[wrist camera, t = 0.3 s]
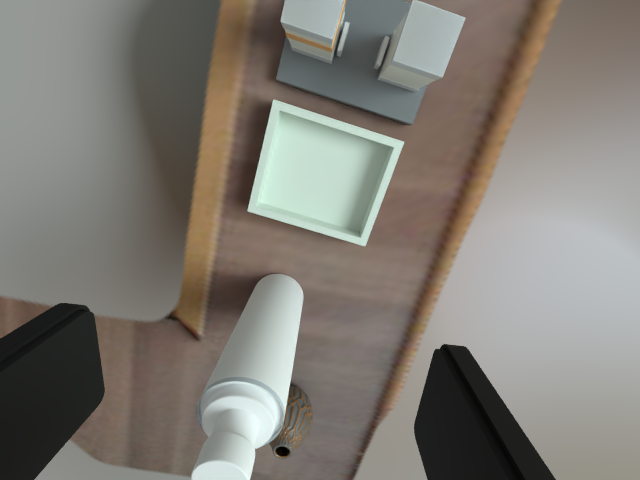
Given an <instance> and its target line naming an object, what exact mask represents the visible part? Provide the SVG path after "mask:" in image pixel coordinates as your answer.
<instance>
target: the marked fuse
mask: <svg viewBox="0 0 640 480" xmlns="http://www.w3.org/2000/svg"><path fill="white" fill-rule="evenodd" d="M345 4H346V0H285V3H284V8H283V12H282V17H281V21H280V22H281V24H282V26H283V28H284V29H285V34H286V36H287V38H288V39H289V42H290V44H291V49H292V51H295V52H297V53H300V54H303V55H306V56H309V57H312V58H315V59H318V60H321V61H324V62H327V63H330V64H332V60H333V57H334V53H335V50H336V46H337V42H338V39H339V35H340V32H341V28H342V24H343V21H344V16H345V12H344V11H345Z"/></svg>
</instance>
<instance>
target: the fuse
mask: <svg viewBox="0 0 640 480" xmlns="http://www.w3.org/2000/svg"><path fill="white" fill-rule="evenodd" d="M464 20H465V18H464V17H462V16H459V15H456V14H453V13H450V12H448V11H445V10H442V9H439V8H437V7H434V6H431V5H428V4H426V3H423V2H420V1H417V0H413V1H412V3H411V4H410V6H409V8H408V11H407V12H406V14H405V15H404V17H403V19H402V20H401V22H400V24H399V25H398V27H397V28H396V30H394V32H393V34H392V36H391V39H390V42H389V45H388V48H387V51H386V54H385V57H384V60H383V63H382V66H381V70H380V73H379V76H378V79H377V80H380V81H383V82H386V83H389V84H392V85H395V86H398V87H401V88H404V89H407V90H410V91H413V92H416V91H418V90H419V89H420V88H422V87H424V86H426V85H427V84H429V83H431V82H433V81H435V80H438V79H440V78H442V77H443V75H444V72H445V69H446V67H447V64H448V62H449V59H450V56H451V54H452V51H453V49H454V46H455V44H456V41H457V38H458V36H459V33H460V31H461V28H462V25H463V23H464Z"/></svg>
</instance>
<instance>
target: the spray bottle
mask: <svg viewBox="0 0 640 480" xmlns="http://www.w3.org/2000/svg"><path fill="white" fill-rule="evenodd" d="M302 304H303V292H302V289H301V287H300V285H299V284H298V283H297V282H296V281H295V280H294V279H293V278H291V277H289V276H287V275H284V274H270V275H267V276H265V277H263V278H262V279H261V280H260V281H259V282H258V283H257V284H256V286H255V288H254V290H253V292H252V294H251V296H250V298H249V300H248V302H247V304H246V306H245V308H244V310H243V312H242V314H241V316H240V318H239V320H238V322H237V324H236V326H235V328H234V330H233V332H232V334H231V336H230V338H229V341H228V343H227V345H226V347H225V349H224V351H223V353H222V355H221V357H220V359H219V361H218V363H217V365H216V367H215V369H214V371H213V373H212V375H211V377H210V379H209V381H208V383H207V385H206V387H205V390H204V392H203V394H202V396H201V399H200V400H199V402H200V411H199V402H198V405H197V418H198V421H199V423H200V425H201V427H202V428H203V430H204V431H205V433H206V434H207V436H208V437H209V438H208V439H207V440H206V441H205V443H204V445H203V447H202V449H201V452H200V454H199V457H198V459H197V462H196V464H195V466H194V469H193V471H192V476H191V480H250V477H251V473H252V468H253V464H254V460H255V449H256V448H259V447H261V446H263V445H265V444H267V443H269V442H271V441H272V440H274V439H275V438H276V437H277V436H278V434H279V433H280V432H281V430H282V427H283V424H284V418H285V412H286V405H287V399H288V393H289V387H290V381H291V375H292V369H293V362H294V356H295V349H296V343H297V336H298V330H299V324H300V317H301V311H302ZM200 414H201V415H200ZM201 417H202V418H201ZM282 423H283V424H282ZM281 425H282V426H281ZM280 427H281V428H280ZM279 428H280V429H279ZM277 431H278V432H277ZM276 432H277V433H276ZM272 435H273V436H272ZM271 436H272V437H271Z"/></svg>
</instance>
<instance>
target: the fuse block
mask: <svg viewBox="0 0 640 480" xmlns="http://www.w3.org/2000/svg"><path fill="white" fill-rule="evenodd" d="M410 4H411V3H409V2H407V1H404V0H346V4H345V11H344V12H345V16H344V21H343V24H342V28H341V32H340V35H339V39H338V42H337V46H336V50H335V53H334V57H333V60H332V64H330V63H327V62H324V61H321V60H318V59H315V58H312V57H309V56H306V55H303V54H300V53H297V52H295V51H292V49H291V44H290V42H289V39H288V38H287V36H286V38H285V42H284V46H283V51H282V55H281V59H280V64H279V68H278V72H277V77H276V80H277V81H278V82H280V83H283V84H286V85H289V86H292V87H295V88H298V89H301V90H304V91H307V92H310V93H313V94H316V95H319V96H323V97H326V98H329V99H332V100H335V101H338V102H341V103H344V104H347V105H350V106H353V107H356V108H359V109H362V110H365V111H368V112H371V113H374V114H377V115H380V116H383V117H386V118H389V119H392V120H395V121H398V122H401V123H404V124H407V125H412V124H413V122H414V119H415V116H416V114H417V111H418V108H419V106H420V103H421V100H422V98H423V95H424V92H425V90H426V87H427V85H426V86H424V87H422V88H420V89H419V90H418V91H416V92H413V91H410V90H407V89H404V88H401V87H398V86H395V85H392V84H389V83H386V82H383V81H380V80H377V79H378V76H379V73H380V70H381V66H382V63H383V60H384V57H385V54H386V51H387V48H388V45H389V42H390V39H391V36H392V34H393V32H394V30H396V28H397V27H398V25H399V24H400V22H401V20H402V19H403V17H404V15H405V14H406V12H407V11H408V8H409V6H410Z"/></svg>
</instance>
